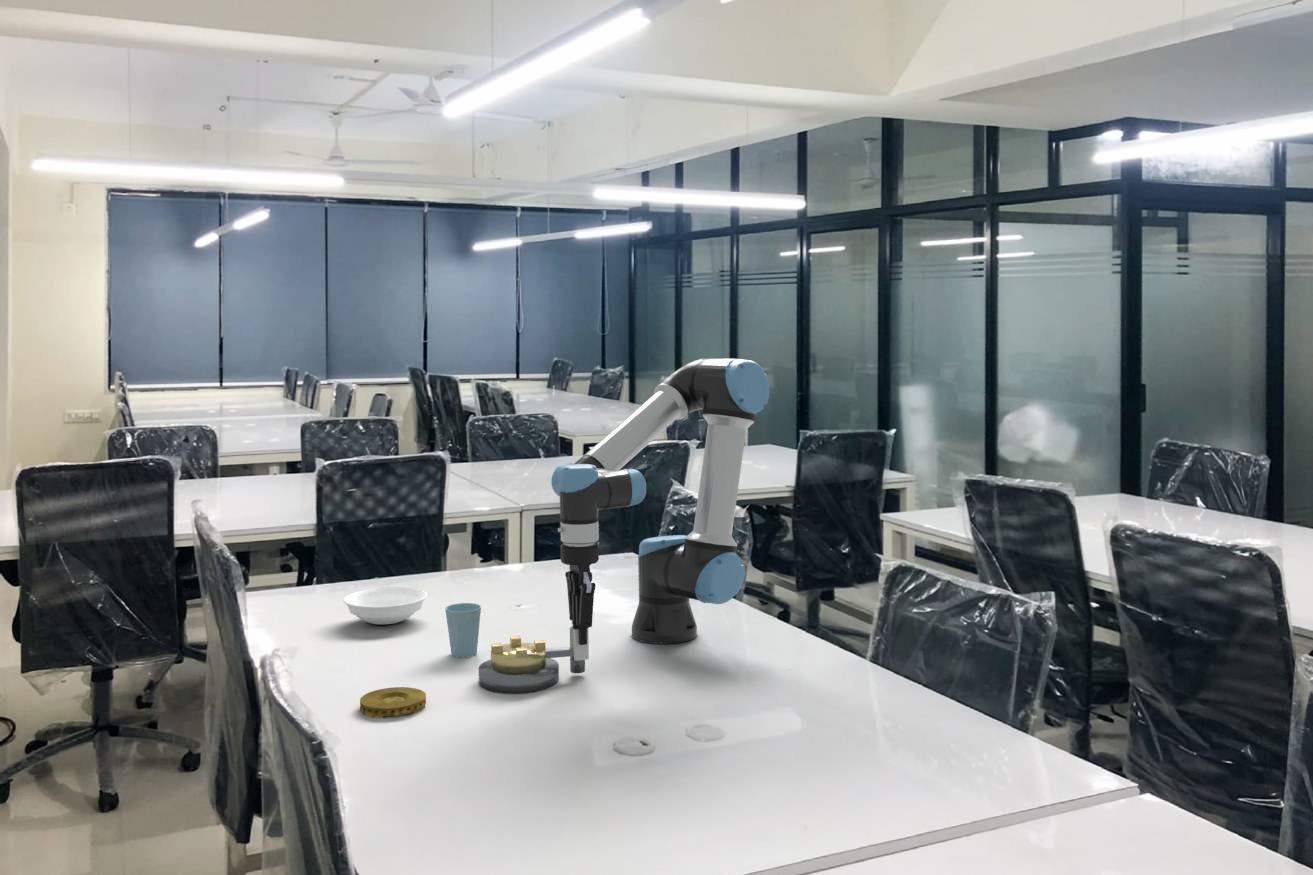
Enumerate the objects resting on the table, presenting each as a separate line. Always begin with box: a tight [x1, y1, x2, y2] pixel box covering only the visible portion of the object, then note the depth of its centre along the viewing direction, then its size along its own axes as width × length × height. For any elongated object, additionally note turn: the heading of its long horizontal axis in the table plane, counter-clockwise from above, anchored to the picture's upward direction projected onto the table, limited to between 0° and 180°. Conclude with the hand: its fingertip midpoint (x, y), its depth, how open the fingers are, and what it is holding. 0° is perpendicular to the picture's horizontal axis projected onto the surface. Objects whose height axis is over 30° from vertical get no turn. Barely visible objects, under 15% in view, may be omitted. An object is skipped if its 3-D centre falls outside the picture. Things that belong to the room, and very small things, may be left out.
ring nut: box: [490, 626, 586, 674], centre depth 218 cm, size 19×11×9 cm, turn 105°
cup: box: [445, 602, 482, 658], centre depth 236 cm, size 8×8×10 cm
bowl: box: [342, 586, 428, 625], centre depth 262 cm, size 20×20×6 cm
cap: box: [478, 658, 560, 695], centre depth 217 cm, size 16×16×3 cm
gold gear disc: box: [359, 686, 427, 719], centre depth 202 cm, size 12×12×2 cm
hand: (581, 658), depth 216 cm, fingers closed
